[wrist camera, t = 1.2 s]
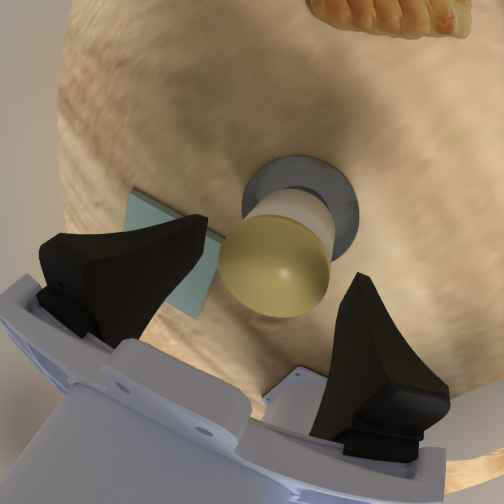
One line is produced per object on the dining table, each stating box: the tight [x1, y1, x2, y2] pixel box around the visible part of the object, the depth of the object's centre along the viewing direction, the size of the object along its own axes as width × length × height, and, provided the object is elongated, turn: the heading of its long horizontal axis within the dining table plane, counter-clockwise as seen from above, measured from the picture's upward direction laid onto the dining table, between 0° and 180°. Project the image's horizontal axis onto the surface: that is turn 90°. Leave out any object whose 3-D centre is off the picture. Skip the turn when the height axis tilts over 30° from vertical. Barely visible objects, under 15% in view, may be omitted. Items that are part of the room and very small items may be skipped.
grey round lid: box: [242, 155, 359, 262], centre depth 16 cm, size 8×8×2 cm
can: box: [218, 189, 335, 318], centre depth 14 cm, size 5×5×4 cm
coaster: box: [124, 190, 225, 319], centre depth 23 cm, size 9×9×1 cm
